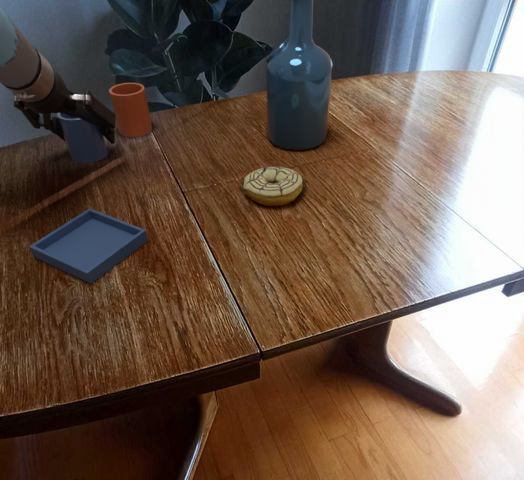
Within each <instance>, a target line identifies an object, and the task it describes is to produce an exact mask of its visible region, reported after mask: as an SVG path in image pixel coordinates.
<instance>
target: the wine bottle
mask: <svg viewBox="0 0 524 480" xmlns="http://www.w3.org/2000/svg"><path fill="white" fill-rule="evenodd" d="M313 15H314V0H290V18H289V19H290V20H289V22H290V23H289V37H288V38H287V39H285V40H284V41H283V42H282V43H281V44H280V45H279V46H278V48H276V49H275V50H274V51H272V52H271V53H270V54H269V55H268V57H267V58H266V60H265V63H266V64H267V65H266V129H267V130H266V131H267V132H266V133H267V134H266V135H267V136H268V139H269V140H270V141H271V143H272V144H273V145H274V146H277V147H279V148H281V149H284V150H293V151H294V150H295V151H303V150H308V149H314V148H316V147H318V146H320V145H322V144H323V143H324V142H325V140H326V138H327V134H328V127H329V116H330V105H331V104H330V103H331V94H332V93H331V92H332V79H333V69H334V68H333V65H334V64H333V60H332V58H331V56H330V54H329V53H328V52H327V51H326V50H325V49H323V48H322V47H321V46H319V45H318V44H316V43H315V42H314V39H313V26H314V25H313V23H314V22H313V21H314V20H313V17H314V16H313Z"/></svg>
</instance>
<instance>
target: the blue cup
mask: <svg viewBox="0 0 524 480" xmlns="http://www.w3.org/2000/svg"><path fill="white" fill-rule="evenodd" d="M56 117H57V118H58V120H59V123H60V126H61V129H62V132H63V135H64V138H65V141H66V142H65V141H64V142H65V144H66V147H67V150H68V153H69V156H70V159H71V160H72V161H73V162H75V163H77V164H91V163H96V162H99V161H102V160H103V159H105V158H106V157H107V156H108V155H109V151H108V147H107V144H106V140H105V139H106V138H105V137H104V135H103V134H102V133H101V132H100V131H99V127H97V126H95V125H93V124H91V123H89V122H87V121H85V120H82V119H80V118H78V117H76V118H73V117H71V116H68V115H66V114H64V113H63V114H61V113H56ZM108 164H109V163H108V162H107V163H105V164H103V165H102V166H100V167H99V169H101V168H103V167H106V166H107V165H108Z"/></svg>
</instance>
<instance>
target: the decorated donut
mask: <svg viewBox="0 0 524 480" xmlns="http://www.w3.org/2000/svg"><path fill="white" fill-rule="evenodd" d="M242 187H243V190H245V194H246V196H247V197H248V198H250V199H251V200H252V201H254V202H256V203H257V204H261V205H262V206H267V207H275V206H276V207H279V206H284V205H289V204H290V203H291V202H294V201H295V200H296V199H297V197H298V196H299V195H300V194H301V192H302V191H303V177H302V175H301V174H300V173H299V172H297V171H295V169H292V168H289V167H283V166H265V167H261V168H259V169H258V168H257V169H256V170H254V171H251V172H249V173H248V174H247V175H246V176H245V177H244V179H243V186H242Z"/></svg>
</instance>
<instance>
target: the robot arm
mask: <svg viewBox="0 0 524 480" xmlns="http://www.w3.org/2000/svg"><path fill="white" fill-rule="evenodd" d="M0 84H1V85H2V86H3V87H5V88H6V89H7V90H8V91H9V92H11V93H12V94H13V107H14V108H16V109H18V111H21V113H22V114H23V115H24V117H25V118H26V119H27V121H28V122H29V123H30V125H31V127H32V128H34V129H37V130H40V129H41V127H42V128H44V130H46V131H50V132H51V133H52V134H54V135H56V136H58V137H59V138H60V139H61V140H62V141H63V142H65V143H66V141H65V138H64V135H63V132H62V129H61V126H60V123H59V120H58V117H57V116H52V114H57V113H61V114H63V113H64V114H66V115H68V116H71V117H73V118H76V117H78V118H80V119H82V120H85V121H87V122H89V123H91V124H93V125H95V126H97V127H99V131H100V132H101V133H102V134H103V136H104V139H106V140H107V141H108V142H109V143H110V144H111V145H112V144H113V145H114V144H116V130H115V129H116V118H115V114H114V111H112V110H111V109H110V108H108V107H107V106H106V105H105V104H104V103H102V102H101V101H99V100H98V99H97V98H96V97H95V96H94V95H93V93H92V91H90V90H88V89H84V90H83V93H82V94H80V93H79V94H78V93H75V92H74V91H73V90H71V89H69V88H68V87H67V85H66V82H65V81H64V79H63V77H62V76H61V75H60V74H59V73H58V71H57V70H56V69H55V68H54V67H53V66H52V65H51V63H50V62H49V61H48V60H47V59H46V58H45V57H44V56H43V54H42V53H40V52H39V50H38V49H37V48H36V47H35V46H34V44H33V43H31V41H30V40H29V39H28V38H27V37H26V36H25V34H24V33H23V32H22V31H21V30H20V28H19V27H18V26H17V25H16V24H15V23H14V21H13V20H12V19H11V18H10V17H9V15H8V14H7V13H6V12H5V11H4V9H3V8H2V7H1V6H0ZM41 115H42V116H41Z"/></svg>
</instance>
